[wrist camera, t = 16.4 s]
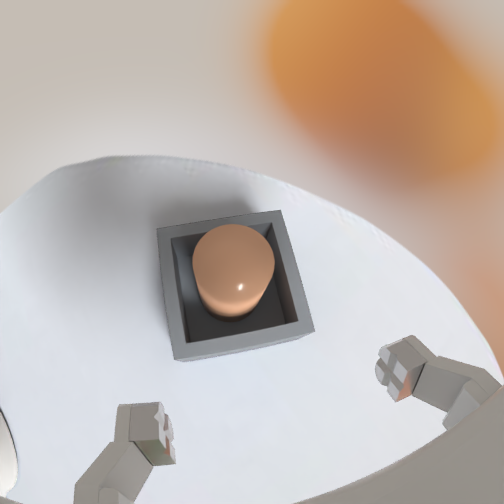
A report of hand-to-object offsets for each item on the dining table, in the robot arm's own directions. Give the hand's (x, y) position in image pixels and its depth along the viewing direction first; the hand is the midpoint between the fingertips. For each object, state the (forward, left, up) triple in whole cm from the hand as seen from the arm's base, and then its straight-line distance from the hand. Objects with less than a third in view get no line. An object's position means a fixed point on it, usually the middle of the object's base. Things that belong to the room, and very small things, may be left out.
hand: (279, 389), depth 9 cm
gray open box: (0, +7, -15) cm, 17 cm away
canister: (0, +7, -14) cm, 16 cm away
